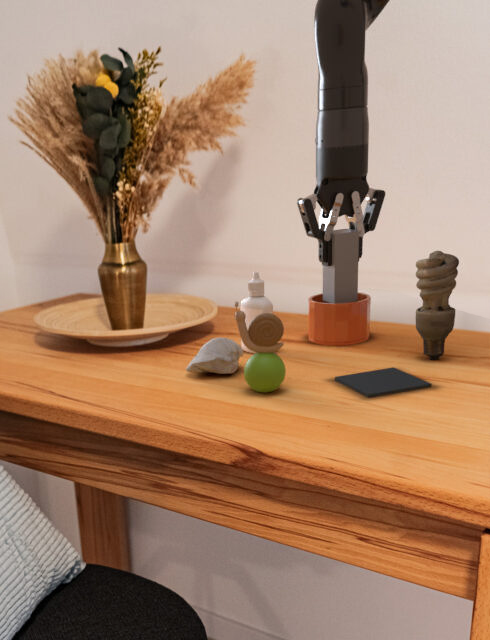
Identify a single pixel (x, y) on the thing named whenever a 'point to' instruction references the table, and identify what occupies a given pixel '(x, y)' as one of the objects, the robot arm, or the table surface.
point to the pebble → (217, 357)
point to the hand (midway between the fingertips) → (340, 263)
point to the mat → (382, 382)
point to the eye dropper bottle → (255, 303)
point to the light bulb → (436, 301)
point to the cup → (338, 321)
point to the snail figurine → (262, 350)
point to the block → (342, 268)
